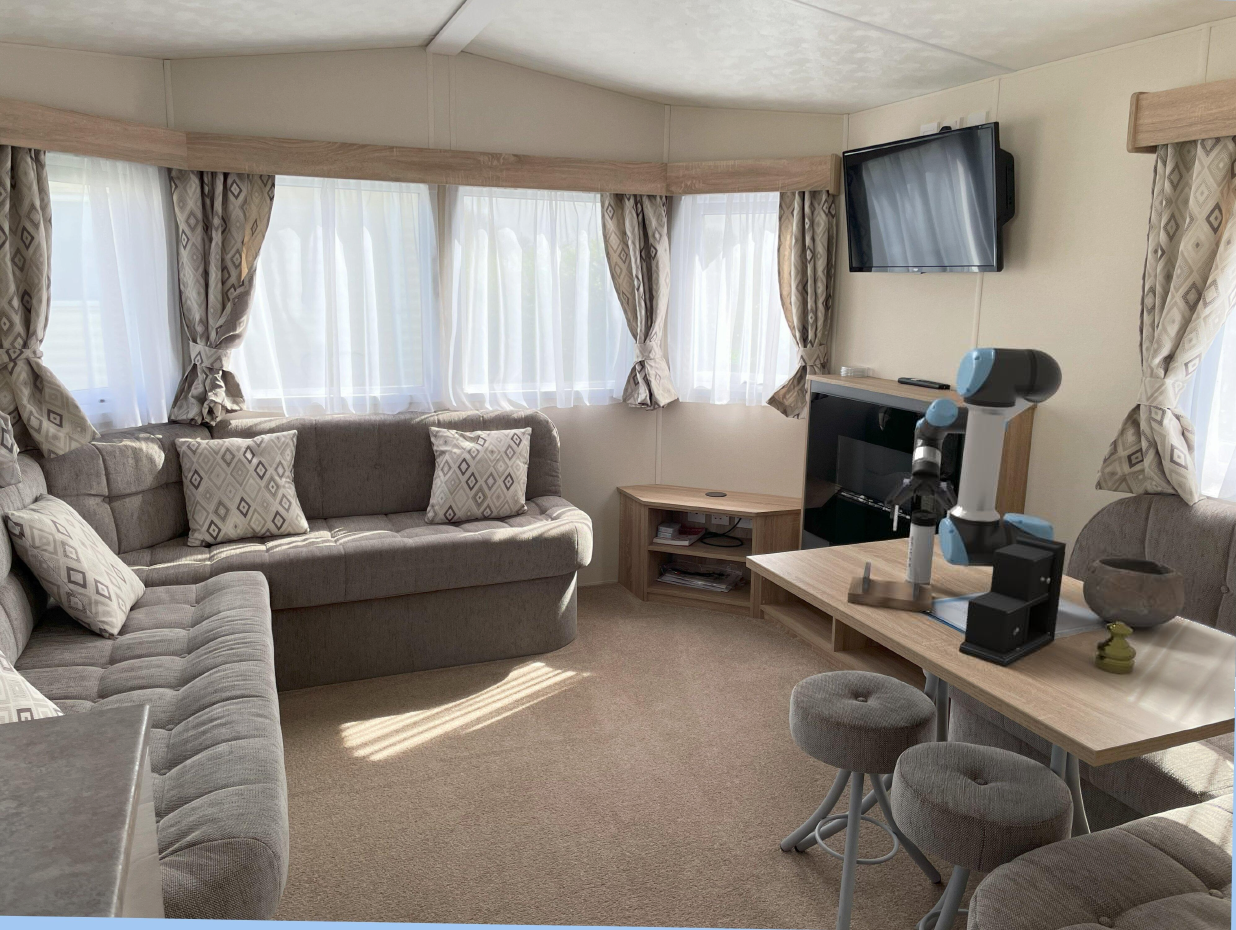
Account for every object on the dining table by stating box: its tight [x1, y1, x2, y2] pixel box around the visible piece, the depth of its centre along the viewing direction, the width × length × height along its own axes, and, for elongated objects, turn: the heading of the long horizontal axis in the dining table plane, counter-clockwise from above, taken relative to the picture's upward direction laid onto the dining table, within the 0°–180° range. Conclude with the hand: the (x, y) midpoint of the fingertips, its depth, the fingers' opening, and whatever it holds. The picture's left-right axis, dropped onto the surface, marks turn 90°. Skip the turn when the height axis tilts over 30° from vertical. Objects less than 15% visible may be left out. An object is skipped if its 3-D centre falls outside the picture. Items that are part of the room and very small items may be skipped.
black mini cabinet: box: [958, 533, 1067, 668], centre depth 199 cm, size 23×11×24 cm, turn 130°
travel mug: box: [905, 508, 937, 586], centre depth 242 cm, size 6×7×20 cm
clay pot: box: [1082, 556, 1186, 628], centre depth 217 cm, size 21×21×15 cm
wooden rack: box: [847, 561, 933, 612], centre depth 231 cm, size 20×14×7 cm
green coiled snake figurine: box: [1094, 622, 1137, 675], centre depth 191 cm, size 7×7×10 cm
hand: (920, 530), depth 245 cm, fingers open, 13 cm apart
